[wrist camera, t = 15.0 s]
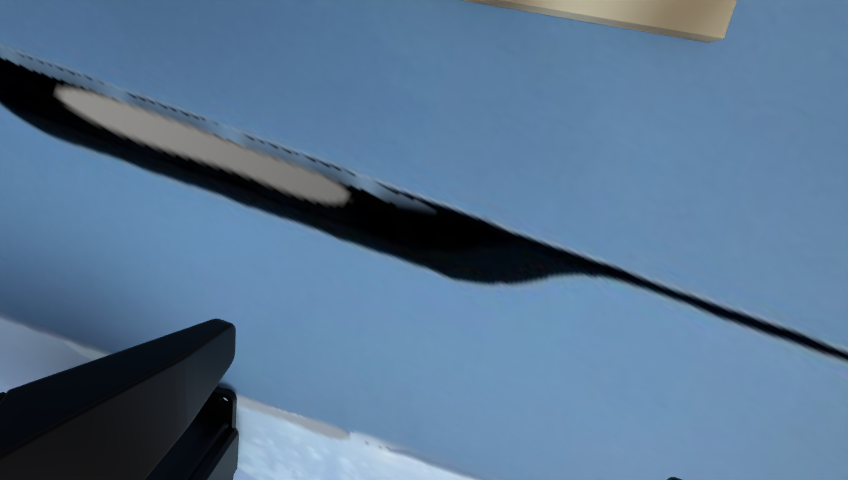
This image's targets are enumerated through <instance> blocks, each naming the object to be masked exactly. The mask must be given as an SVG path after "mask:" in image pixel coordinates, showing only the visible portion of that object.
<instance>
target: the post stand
mask: <svg viewBox="0 0 848 480" xmlns="http://www.w3.org/2000/svg"><path fill="white" fill-rule="evenodd" d="M463 1H469V2H475V3H481V4H486V5H492V6H498V7H504V8H510V9H516V10H521V11H527V12H533V13H539V14H545V15H551V16H556V17H562V18H568V19H574V20H580V21H586V22H592V23H597V24H603V25H609V26H615V27H621V28H627V29H632V30H638V31H644V32H650V33H656V34H662V35H667V36H673V37H679V38H685V39H691V40H697V41H702V42H708V43H709V42H713V41H716V40H720V39H724V37H725V34H726V31H727V28H728V25H729V22H730V19H731V16H732V13H733V10H734V7H735V5H736V2H737V0H463Z"/></svg>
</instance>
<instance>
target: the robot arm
mask: <svg viewBox="0 0 848 480" xmlns="http://www.w3.org/2000/svg"><path fill="white" fill-rule="evenodd" d="M235 335H236V329H235V326H234V325H233V324H232V323H229V322H227V321H224V320H221V319H212V320H209V321H206V322H203V323H200V324H197V325H195V326H192V327H189V328H186V329H183V330H180V331H177V332H174V333H171V334H169V335H166V336H163V337H160V338H157V339H154V340H151V341H148V342H146V343H143V344H140V345H137V346H134V347H131V348H128V349H125V350H122V351H120V352H117V353H114V354H111V355H108V356H105V357H102V358H99V359H97V360H94V361H91V362H88V363H85V364H82V365H79V366H76V367H74V368H71V369H68V370H65V371H62V372H59V373H56V374H53V375H50V376H48V377H45V378H42V379H39V380H36V381H33V382H30V383H27V384H25V385H22V386H19V387H16V388H13V389H10V390H8V392H7V393H5V392H1V393H0V480H233V474H234V473H235V471H236V469H237V462H238V441H239V433H238V430H237V429H236V428H235V426H236V404H237V397H236V394H235V393H234V392H233V391H232V390H230V389H226V388H221V387H216V386H217V384H218V383H219V381H220V380H221V378H222V377H223V375H224V374H225V372H226V371H227V370H228V368H229V367H230V365H231V363H232V361H233V359H234V356H235ZM224 398H226V399H227V400H228V401H226V400H225V399H224ZM667 480H682V479H679V478H676V477H670V478H668V479H667Z"/></svg>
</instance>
